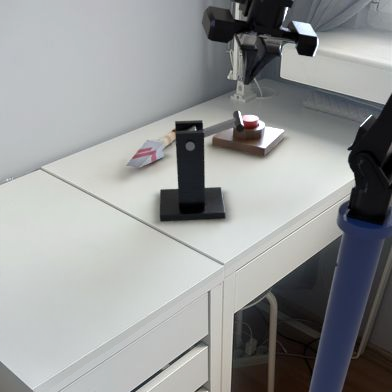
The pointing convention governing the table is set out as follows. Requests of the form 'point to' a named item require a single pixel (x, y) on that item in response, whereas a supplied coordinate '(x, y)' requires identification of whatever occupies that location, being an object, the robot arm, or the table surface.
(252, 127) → the button
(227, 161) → the table surface
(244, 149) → the button block
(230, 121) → the lever
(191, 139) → the bracket
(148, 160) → the garden trowel
